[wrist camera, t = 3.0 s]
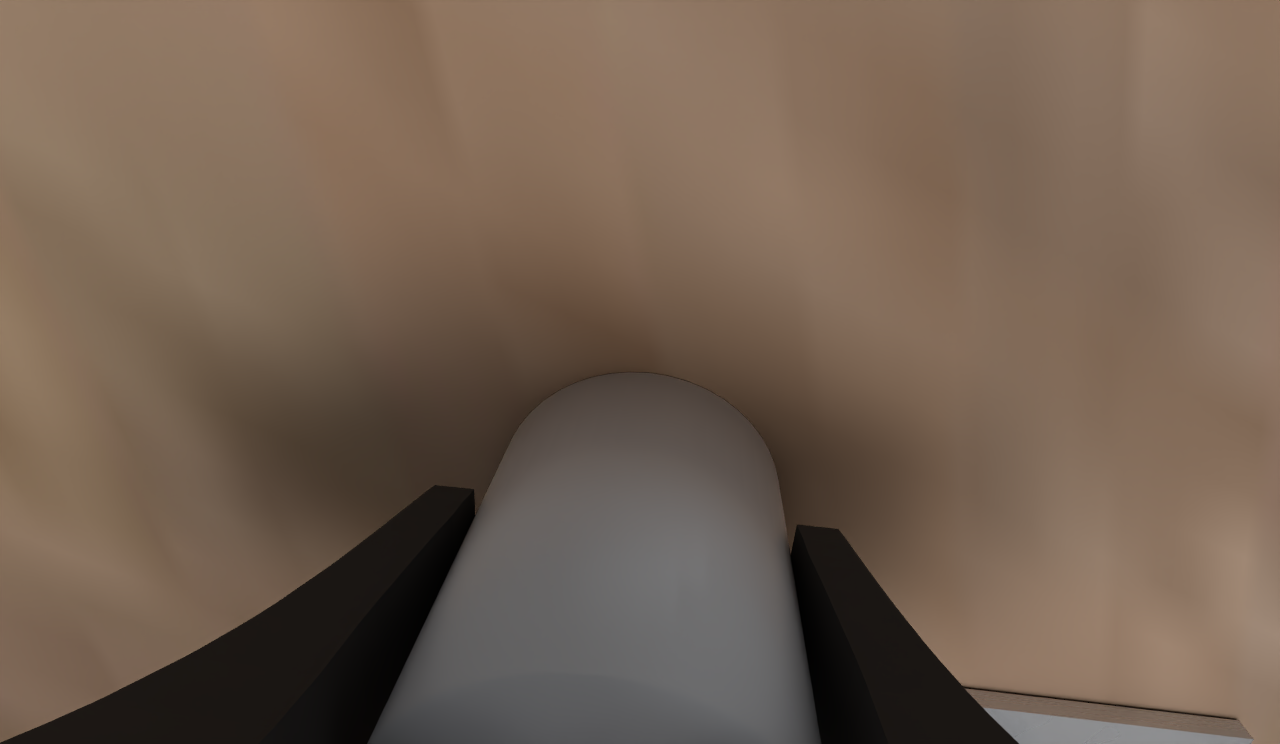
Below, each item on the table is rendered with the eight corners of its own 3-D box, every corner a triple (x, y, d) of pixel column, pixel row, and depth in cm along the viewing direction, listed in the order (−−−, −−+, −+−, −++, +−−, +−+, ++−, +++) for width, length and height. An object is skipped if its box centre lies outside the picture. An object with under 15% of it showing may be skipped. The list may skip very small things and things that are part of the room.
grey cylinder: (502, 590, 14) (343, 1032, 8) (499, 357, 12) (279, 711, 6) (758, 619, 14) (801, 1096, 7) (801, 388, 11) (909, 788, 5)
